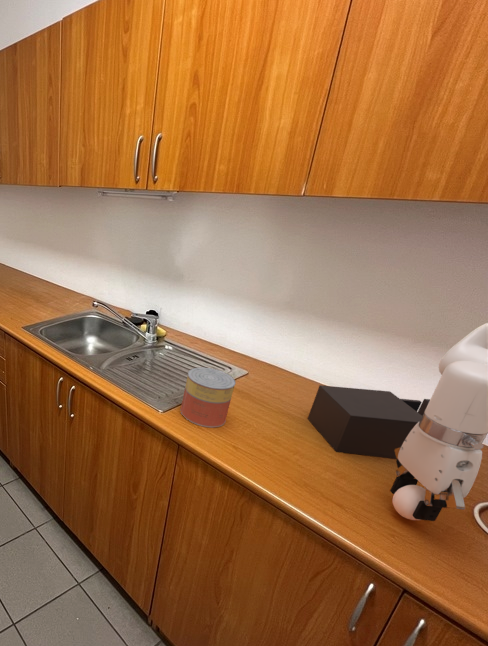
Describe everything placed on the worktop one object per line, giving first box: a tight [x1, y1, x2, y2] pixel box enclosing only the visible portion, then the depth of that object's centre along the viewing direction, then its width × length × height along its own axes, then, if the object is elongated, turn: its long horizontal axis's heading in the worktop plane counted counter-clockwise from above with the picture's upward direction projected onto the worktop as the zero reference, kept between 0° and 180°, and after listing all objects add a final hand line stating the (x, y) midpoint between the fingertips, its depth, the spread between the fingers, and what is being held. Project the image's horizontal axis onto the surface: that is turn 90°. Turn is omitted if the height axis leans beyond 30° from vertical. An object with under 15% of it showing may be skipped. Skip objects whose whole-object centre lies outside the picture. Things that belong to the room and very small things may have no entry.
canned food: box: [179, 366, 236, 428], centre depth 107 cm, size 11×11×12 cm
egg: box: [391, 484, 426, 521], centre depth 76 cm, size 5×5×7 cm
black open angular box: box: [400, 398, 431, 416], centre depth 95 cm, size 18×12×9 cm
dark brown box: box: [307, 384, 422, 460], centre depth 97 cm, size 16×14×11 cm
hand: (411, 505), depth 76 cm, fingers closed on egg, 5 cm apart
